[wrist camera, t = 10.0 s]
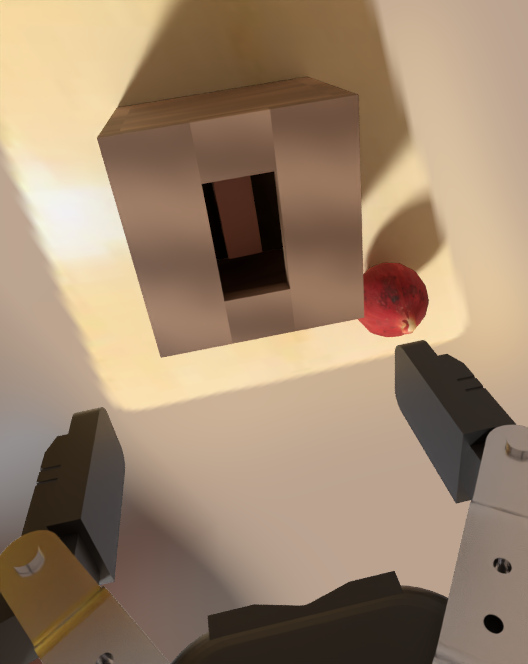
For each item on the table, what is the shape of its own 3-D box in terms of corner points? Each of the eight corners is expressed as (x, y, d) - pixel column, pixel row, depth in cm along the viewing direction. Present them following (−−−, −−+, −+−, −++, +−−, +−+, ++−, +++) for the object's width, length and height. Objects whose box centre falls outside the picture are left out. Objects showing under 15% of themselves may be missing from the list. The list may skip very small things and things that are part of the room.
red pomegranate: (333, 265, 42) (364, 310, 35) (397, 237, 42) (442, 278, 35) (351, 319, 45) (383, 370, 38) (411, 294, 45) (454, 341, 38)
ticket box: (117, 107, 34) (97, 138, 24) (310, 76, 34) (362, 94, 25) (162, 281, 40) (160, 357, 31) (322, 251, 41) (367, 316, 32)
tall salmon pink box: (222, 234, 39) (207, 162, 36) (252, 228, 39) (240, 156, 37) (228, 259, 35) (212, 180, 32) (262, 252, 35) (249, 173, 32)
